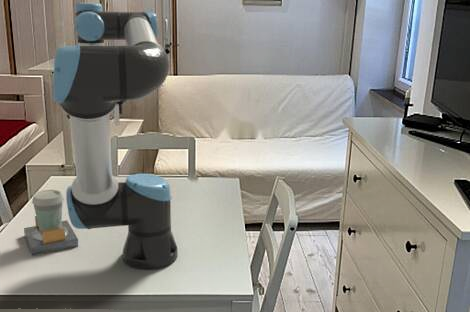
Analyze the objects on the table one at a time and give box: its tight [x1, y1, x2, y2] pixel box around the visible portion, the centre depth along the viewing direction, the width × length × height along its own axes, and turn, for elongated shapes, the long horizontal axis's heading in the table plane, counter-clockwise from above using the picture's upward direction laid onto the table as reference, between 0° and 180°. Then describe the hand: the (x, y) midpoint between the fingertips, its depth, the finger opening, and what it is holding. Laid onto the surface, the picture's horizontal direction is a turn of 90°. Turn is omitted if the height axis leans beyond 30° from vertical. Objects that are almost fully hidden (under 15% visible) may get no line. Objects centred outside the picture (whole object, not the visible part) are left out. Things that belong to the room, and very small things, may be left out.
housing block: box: [23, 215, 79, 256], centre depth 152 cm, size 14×13×6 cm
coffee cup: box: [31, 189, 64, 235], centre depth 150 cm, size 8×9×12 cm
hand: (95, 126), depth 160 cm, fingers open, 13 cm apart
